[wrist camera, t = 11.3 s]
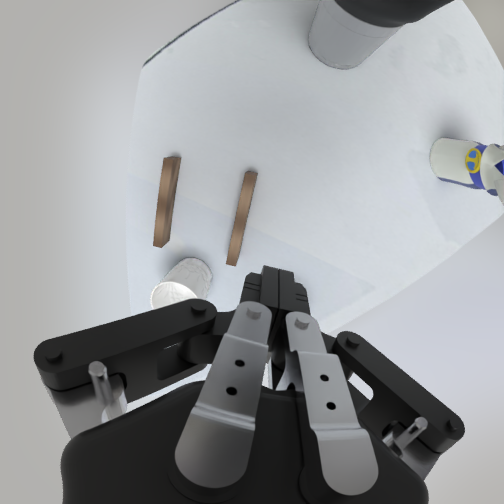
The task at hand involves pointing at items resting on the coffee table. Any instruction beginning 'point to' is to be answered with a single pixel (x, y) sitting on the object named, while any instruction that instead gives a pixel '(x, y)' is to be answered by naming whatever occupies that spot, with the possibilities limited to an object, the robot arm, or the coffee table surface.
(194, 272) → the white cup
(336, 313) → the coffee table surface
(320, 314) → the coffee table surface
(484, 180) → the white and blue figurine
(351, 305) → the coffee table surface
